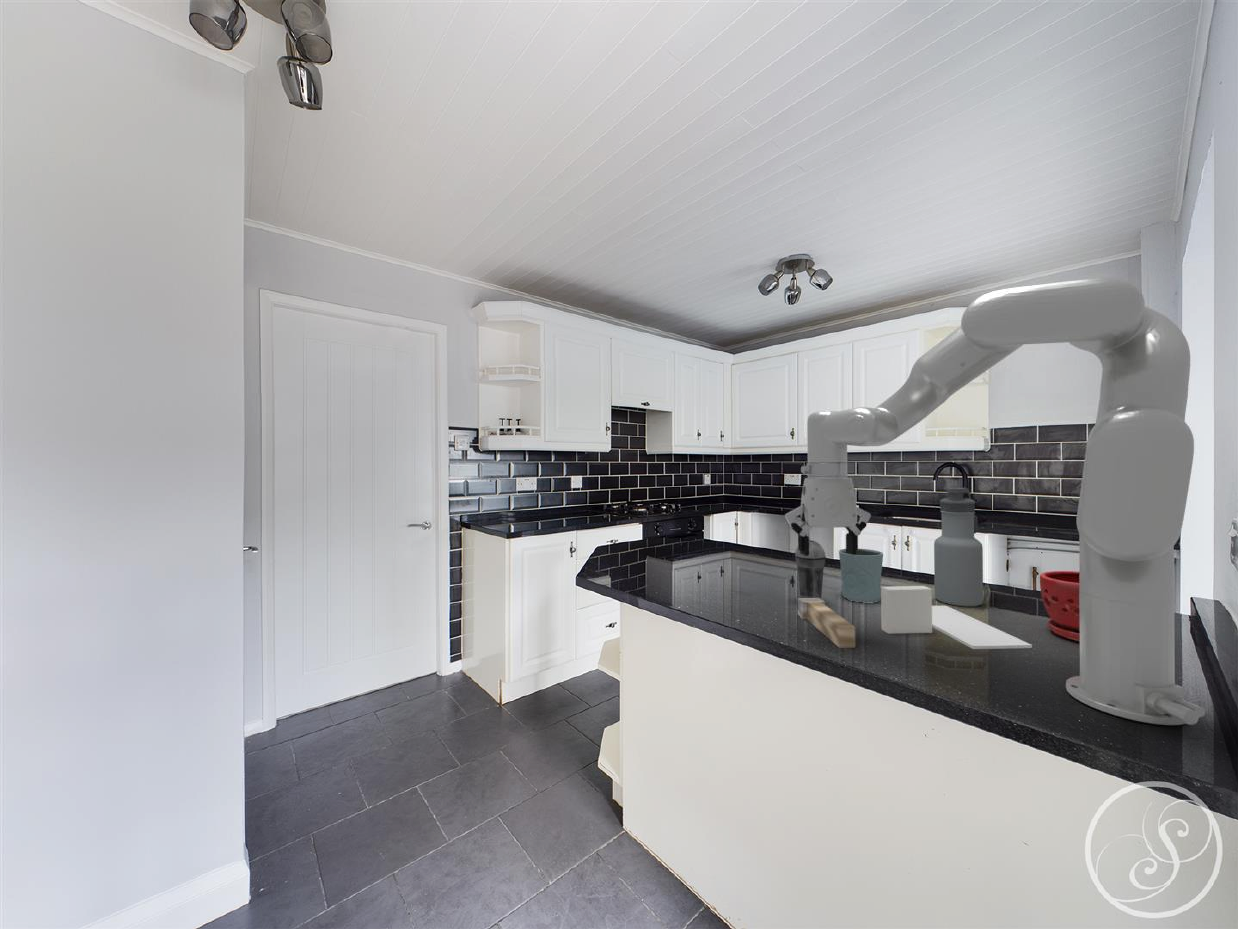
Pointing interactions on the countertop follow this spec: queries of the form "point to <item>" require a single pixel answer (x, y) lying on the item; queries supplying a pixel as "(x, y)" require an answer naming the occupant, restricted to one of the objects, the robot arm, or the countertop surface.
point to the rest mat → (972, 630)
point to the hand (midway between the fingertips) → (827, 554)
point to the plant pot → (1062, 602)
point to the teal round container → (861, 575)
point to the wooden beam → (827, 621)
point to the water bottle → (958, 552)
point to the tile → (906, 609)
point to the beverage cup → (811, 570)
